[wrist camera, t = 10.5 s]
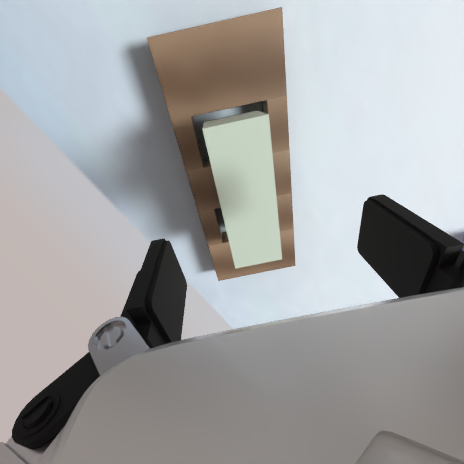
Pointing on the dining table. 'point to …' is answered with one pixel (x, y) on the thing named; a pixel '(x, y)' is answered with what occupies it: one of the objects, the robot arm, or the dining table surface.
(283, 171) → the brown wooden board
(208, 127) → the tall sage green block
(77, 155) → the dining table surface
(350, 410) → the robot arm
